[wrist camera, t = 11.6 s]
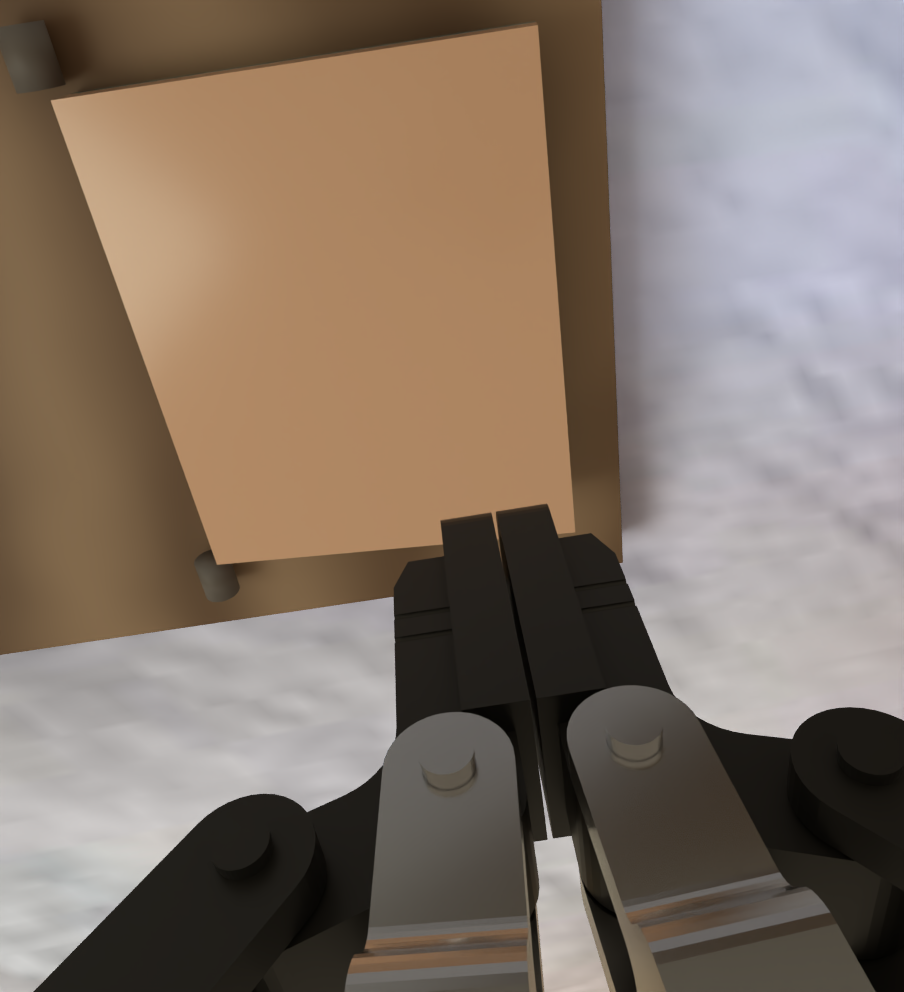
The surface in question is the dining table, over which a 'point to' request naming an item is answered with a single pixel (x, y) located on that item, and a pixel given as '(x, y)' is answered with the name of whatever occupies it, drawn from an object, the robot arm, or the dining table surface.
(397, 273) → the tile
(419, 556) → the board
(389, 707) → the dining table surface
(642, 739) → the robot arm
